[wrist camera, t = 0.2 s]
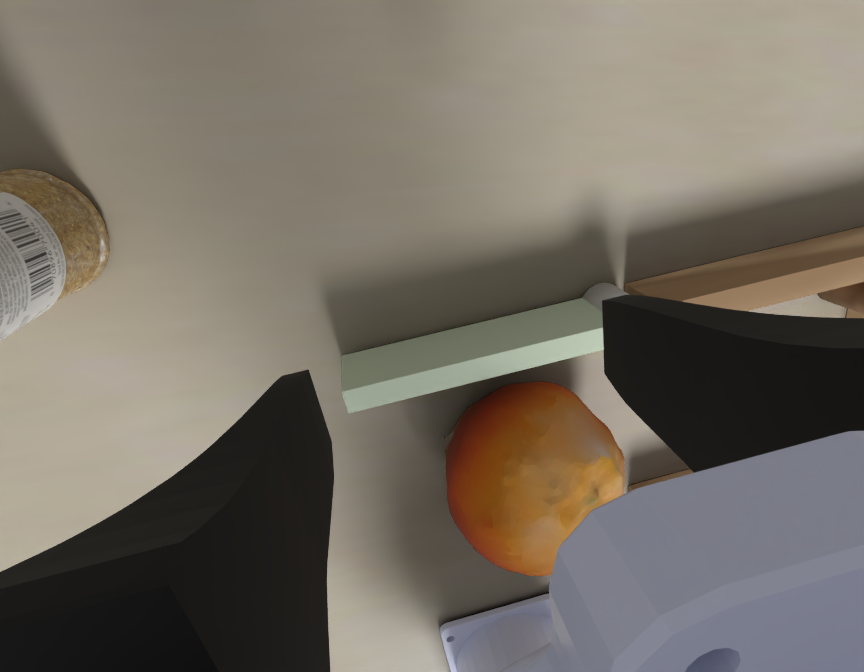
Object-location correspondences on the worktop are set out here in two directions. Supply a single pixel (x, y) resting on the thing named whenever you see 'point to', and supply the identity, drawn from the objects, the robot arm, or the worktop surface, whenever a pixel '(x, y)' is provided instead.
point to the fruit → (528, 473)
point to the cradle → (769, 282)
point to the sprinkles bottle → (44, 244)
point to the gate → (475, 351)
